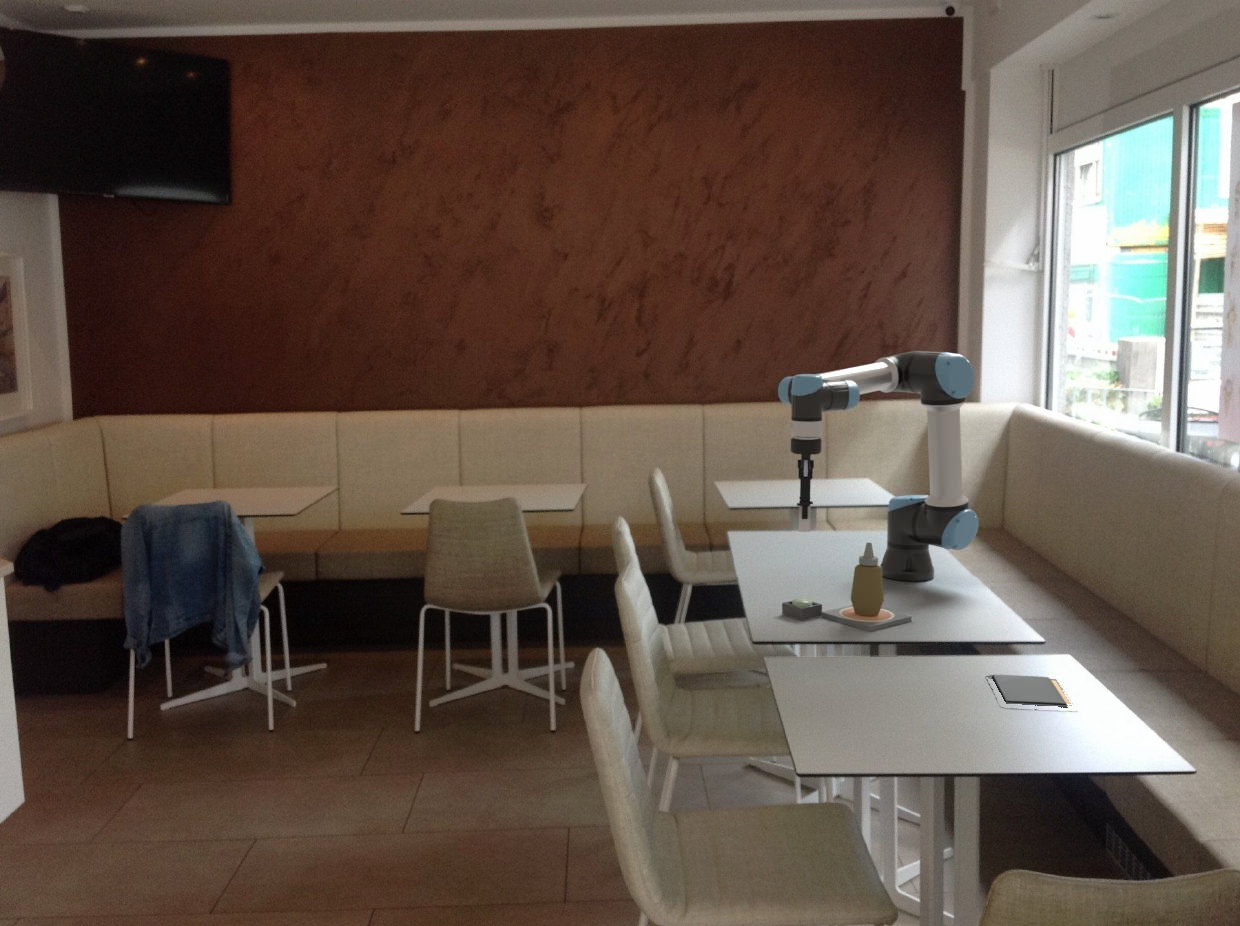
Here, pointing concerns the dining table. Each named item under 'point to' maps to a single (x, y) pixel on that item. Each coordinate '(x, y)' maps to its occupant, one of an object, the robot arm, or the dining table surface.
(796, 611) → the button housing
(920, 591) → the dining table surface
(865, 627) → the print board
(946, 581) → the dining table surface
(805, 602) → the button
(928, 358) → the robot arm
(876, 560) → the squeeze bottle
